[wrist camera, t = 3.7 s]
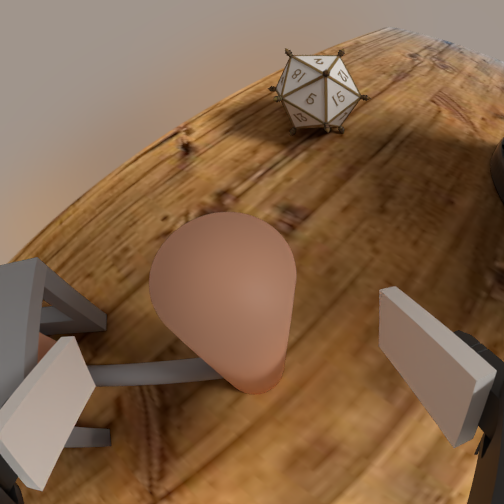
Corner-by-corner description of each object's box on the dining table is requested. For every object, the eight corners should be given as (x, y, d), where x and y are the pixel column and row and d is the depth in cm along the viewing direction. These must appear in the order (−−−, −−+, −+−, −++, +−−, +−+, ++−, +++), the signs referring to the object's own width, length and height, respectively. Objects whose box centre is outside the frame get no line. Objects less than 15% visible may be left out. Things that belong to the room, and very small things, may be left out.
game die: (293, 151, 33) (235, 77, 28) (349, 106, 32) (299, 32, 27) (335, 172, 25) (264, 71, 20) (401, 115, 25) (345, 18, 19)
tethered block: (276, 323, 20) (276, 183, 9) (290, 400, 18) (316, 363, 6) (21, 347, 20) (-102, 274, 9) (20, 408, 18) (-117, 361, 6)
